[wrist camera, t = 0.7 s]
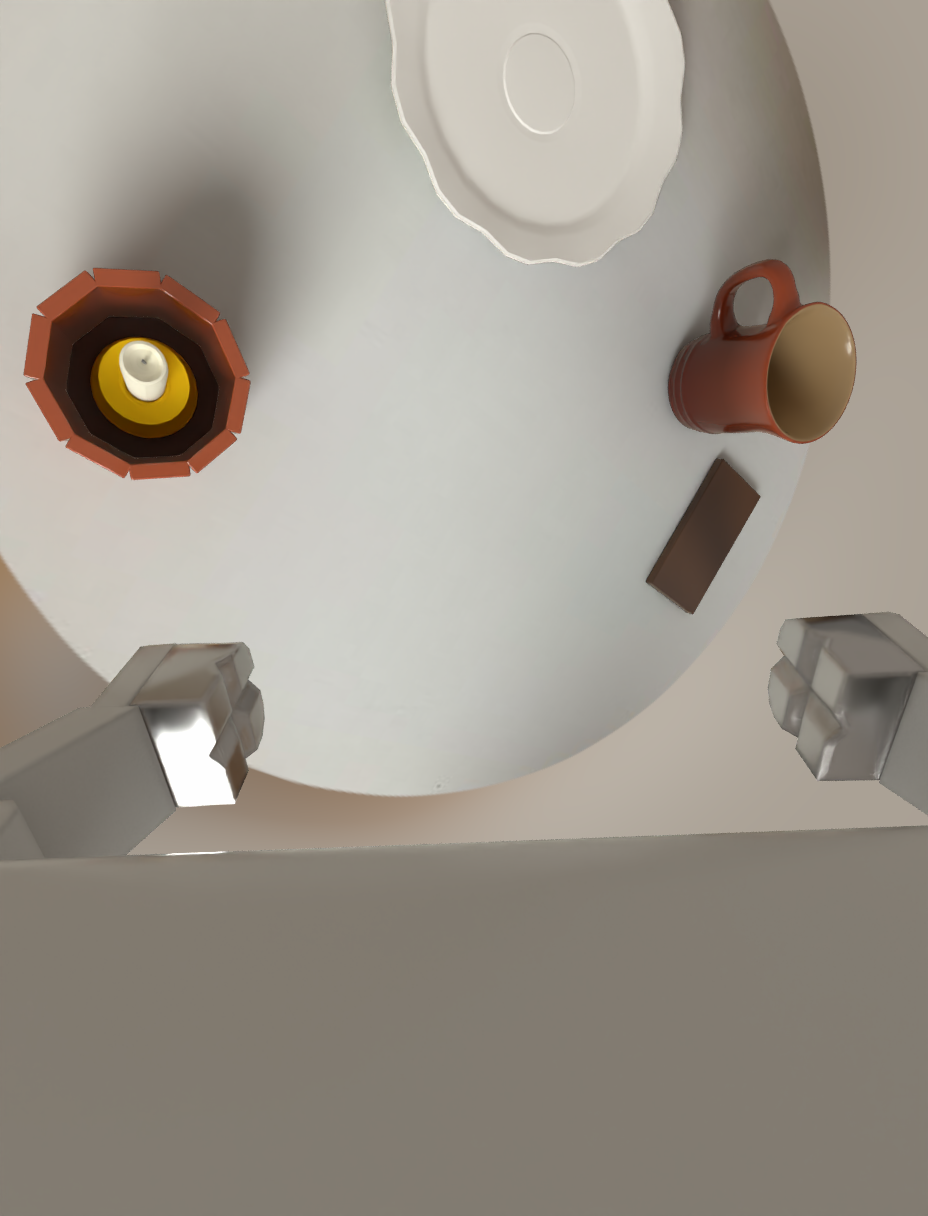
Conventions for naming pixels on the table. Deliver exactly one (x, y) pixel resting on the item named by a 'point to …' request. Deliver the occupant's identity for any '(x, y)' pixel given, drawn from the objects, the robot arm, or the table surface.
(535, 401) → the table surface
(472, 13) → the plate
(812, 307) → the mug
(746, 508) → the walnut mat
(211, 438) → the holder cup
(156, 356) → the candle
